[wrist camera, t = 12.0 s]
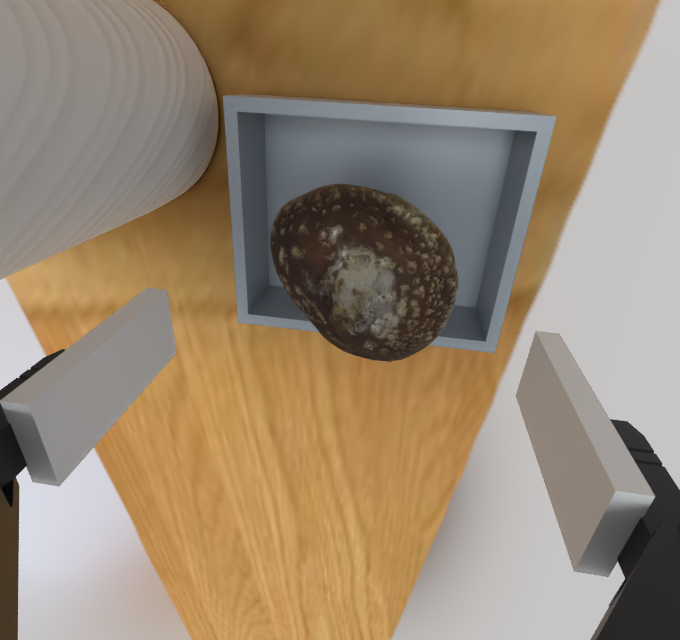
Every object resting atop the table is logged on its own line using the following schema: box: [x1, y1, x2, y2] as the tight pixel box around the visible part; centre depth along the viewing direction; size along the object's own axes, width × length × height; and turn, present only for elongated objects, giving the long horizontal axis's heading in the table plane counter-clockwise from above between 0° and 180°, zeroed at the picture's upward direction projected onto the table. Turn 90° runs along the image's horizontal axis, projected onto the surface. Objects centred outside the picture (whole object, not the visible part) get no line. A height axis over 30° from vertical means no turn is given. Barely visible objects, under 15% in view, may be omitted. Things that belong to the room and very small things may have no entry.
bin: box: [223, 94, 557, 353], centre depth 30 cm, size 15×19×6 cm
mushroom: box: [270, 184, 459, 362], centre depth 26 cm, size 9×9×15 cm
